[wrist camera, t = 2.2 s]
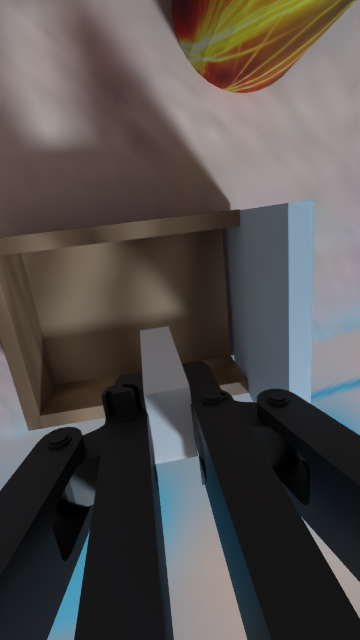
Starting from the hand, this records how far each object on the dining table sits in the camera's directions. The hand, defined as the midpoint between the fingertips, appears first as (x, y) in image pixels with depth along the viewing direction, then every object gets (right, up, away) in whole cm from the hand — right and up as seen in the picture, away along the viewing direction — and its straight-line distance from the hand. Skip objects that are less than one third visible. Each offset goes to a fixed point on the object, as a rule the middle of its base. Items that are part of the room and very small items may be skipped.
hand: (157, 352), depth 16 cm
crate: (-3, +3, +9) cm, 10 cm away
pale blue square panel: (+7, +2, +3) cm, 8 cm away
